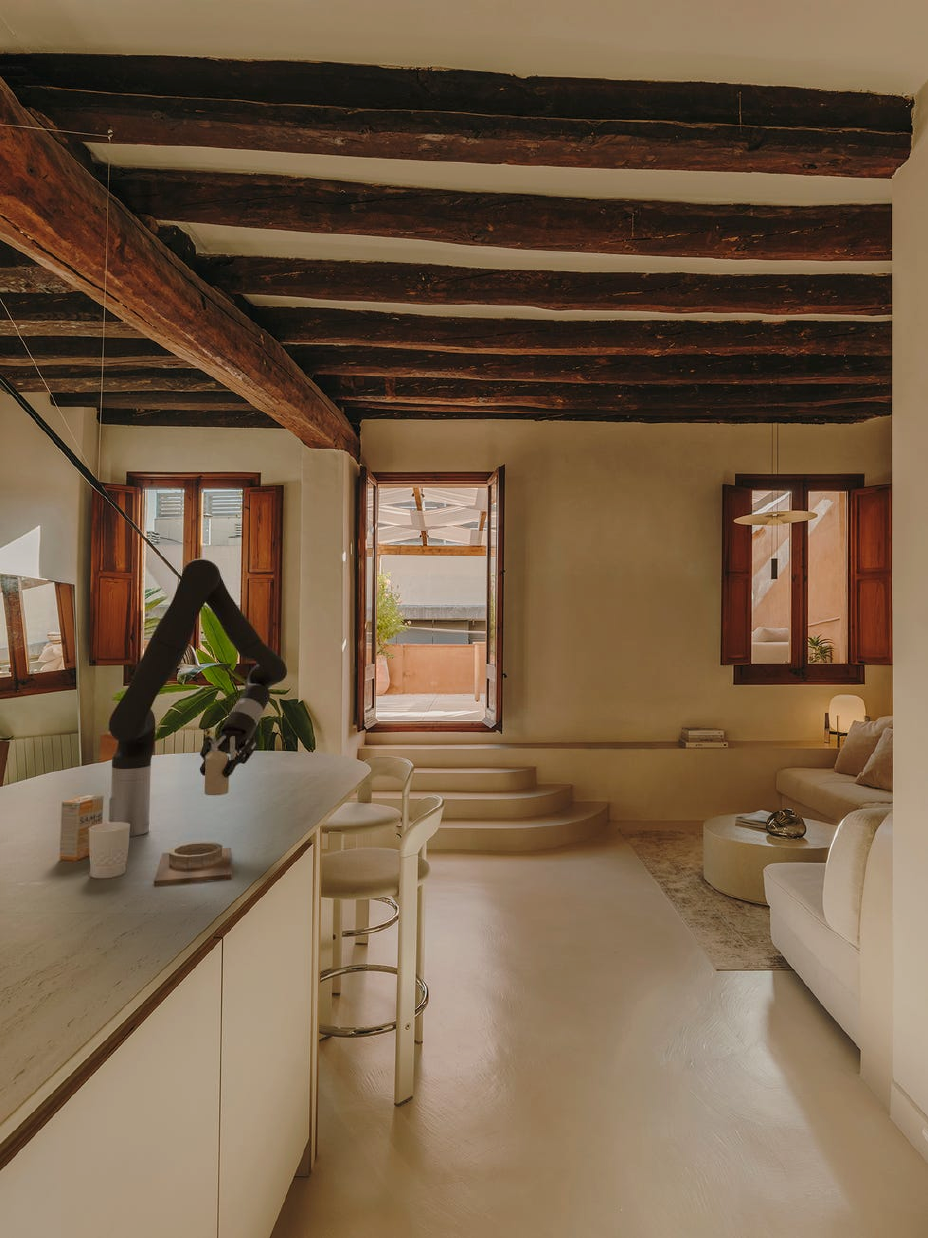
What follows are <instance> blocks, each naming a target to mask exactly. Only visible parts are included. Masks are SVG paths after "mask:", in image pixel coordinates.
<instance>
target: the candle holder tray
mask: <svg viewBox="0 0 928 1238" xmlns="http://www.w3.org/2000/svg"><path fill="white" fill-rule="evenodd" d="M223 879H225V880H232V847H225V848H223V845H222V844H220V843H218V842H209V841H201V842H188V843H183V844H179V845H176V846H175V847H172V848H170V849H169V851H168V852H162V854H161V858H160V861H159V864H158V866H157V871H156V874H155V877H154V880H153V886H154V887H155V886H156V887H157V886H166V885H167V886H168V885H180V884H190V882H192V883H199V882H198V881H203V882H208V881H207V880H214V881H222V880H223ZM223 881H224V880H223Z"/></svg>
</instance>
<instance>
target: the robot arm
mask: <svg viewBox="0 0 928 1238" xmlns="http://www.w3.org/2000/svg"><path fill="white" fill-rule="evenodd" d="M205 604H206V605H207V606H208V607H209V608H210V610H211V611H212V613H213V614H214V615H215V618H216V619H217V621H218V622H219V624H220V627H221V628H222V630H223V631H224V633H225V635H226V636H227V639H228V640H229V641H230V643H231V644H232V646H233V647H234V649H235V650H236V652H237V653H238V654H239V656H240V657H241V658H242V659H243V660H244V661H245V660H246V661H249V660H253V661H254V662H255V663H257V664H256V665H255V666H253V668H251V670H250V672H249V673H248V675H247V677H246V678H247V679H246V682H245V686H244V690H243V692H242V693H241V695H240V697H239V698H238V700H237V702H236V703H235V705H234V706H233V707H232V709H231V711H230V712H229V715H228V716H227V718H226V720H225V721H224V724H223V725H222V727H221V732H220V734H218V736H217V737H211V736H210V735H208V736H206V737H205V739H204V741H203V745H202V748H201V750H200V753H199V755H200V757H201V758H202V759H203V761H202V764H201V766H200V767H199V772H200V774H201V775H202V776H203V777H205V759H206V757H207V756H209V755H210V754H211V753H214V752H216V751H221V752H223V753H224V752H225V753H226V754H227V755H229V756H230V757H229V760H228V762H227V764H226V766H225V768H224V770H223V772H222V774H223V775H224V777H226V778H228V777H229V778H230V776H232V774H233V772H234V770H235V768H236V766H238V765H239V764H241V765H244V764H246V763H247V761H248V760H249V759H250V758H251V756H252V755H253V753H254V752H255V750H256V749H257V747H258V744H257V743H256V741H255V740H254V739H253V738H252V737H253V735H254V732H255V731H256V729H257V727H258V724H259V723H260V720H261V718H262V716H263V712H264V711H265V709H266V708H267V706H268V703H269V701H270V697H271V694H270V691H269V688H270V687H272V686H275V685H277V684H279V683H281V682H283V681H284V680H285V679H286V677H287V675H288V669H287V665H286V664H285V662H284V660H283V659H282V658H281V656H280V655H279V654H277V653H276V652H275V651H274V650H273V649H272V648H270V647H269V646H268V645H267V644H265V643H264V641H263V640H262V638H261V637H260V635H259V634H258V633H257V631H256V630H255V628H254V627H253V625H252V624H251V622H250V621H249V620H248V619H247V617H246V616H245V615H244V613H243V612H242V610H241V609H240V608H239V607H238V605H237V603H236V602H235V601H234V599H233V597H232V596H231V595H230V592H229V591H228V589H227V586H226V585H225V582H224V580H223V578H222V576H221V572H220V569H219V567H218V565H216V564H215V563H214V561H211V560H209V559H208V558H207V559H206V558H195V559H192V560H191V561H189V562H188V563H187V564H185V566H184V568H183V569H182V573H181V576H180V580H179V582H178V584H177V588H176V590H175V594H174V596H173V598H172V601H171V603H170V605H169V606H168V609H167V610H166V611H165V612H164V614H163V616H162V617H161V619H160V621H159V623H158V624H157V626H156V628H155V630H154V631H153V633H152V635H151V637H150V639H149V641H148V643H147V646H146V647H145V650H144V652H143V655H142V656H141V658H140V660H139V663H138V665H137V666H136V669H135V672H134V674H133V677H132V679H131V680H130V683H129V686H128V687H127V689H126V690H125V692H124V694H123V695H122V697H121V699H120V700H119V702H118V703H117V704H116V707H115V708H114V710H113V711H112V713H111V715H110V718H109V720H108V730H109V733H110V735H111V736H112V737H113V738H114V739H115V740H116V741H117V748H116V751H115V753H113V756H112V759H111V779H110V781H111V783H110V784H111V785H110V788H111V790H110V798H109V800H108V823H109V822H125V823H129V824H130V832H129V837H136V836H140V835H143V834H146V833H148V832H149V831H150V807H151V805H150V803H151V800H150V799H151V778H152V777H151V774H152V772H151V769H152V758H153V754H154V749H155V740H156V739H155V738H156V737H155V736H156V717H155V713H154V712H153V710H152V706H153V704H154V702H155V700H156V698H157V697H158V694H159V693H160V692H161V690H162V689H163V688H164V687H165V686H166V684H167V683H168V682H169V680H170V679H171V677H172V676H174V674H175V672H176V671H177V669H178V668H179V666H180V664H181V663H182V660H183V658H184V656H185V654H186V652H187V649H188V647H189V645H190V643H191V640H192V637H193V634H194V630H195V628H196V624H197V621H198V618H199V615H200V612H201V611H202V609H203V607H204V605H205Z"/></svg>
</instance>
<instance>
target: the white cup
mask: <svg viewBox="0 0 928 1238" xmlns="http://www.w3.org/2000/svg"><path fill="white" fill-rule="evenodd" d="M129 832H130V824H129V823H125V822H109V821H108V822H102V824H97V825H94V826H91V827H90V828H89V854H90V855H89V864H90V865H89V866H90V867H89V869H90V871H89V874H90V877H91V878H94V879H110V878H117V877H120V876H121V875H124V874H125V873H126V869H127V860H128V854H129V844H130V843H129V842H130V836H129Z"/></svg>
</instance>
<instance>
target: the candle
mask: <svg viewBox="0 0 928 1238" xmlns="http://www.w3.org/2000/svg"><path fill="white" fill-rule="evenodd" d="M229 756H230V755H229V754H226V753H225V752H224V753H223V752H221V751H219V750H217V751H216V752H214V753H211V754H210V755H209V756H207V757H206V759H205V776H204V795H206V796H222V795H223V796H224V795H227V794H228V793H229V789H230V776H229V777H228V778H226V777H224V775H223V774H222V772H223V770H224V768H225V766H226V764H227V762H228V760H230V757H229Z"/></svg>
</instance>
